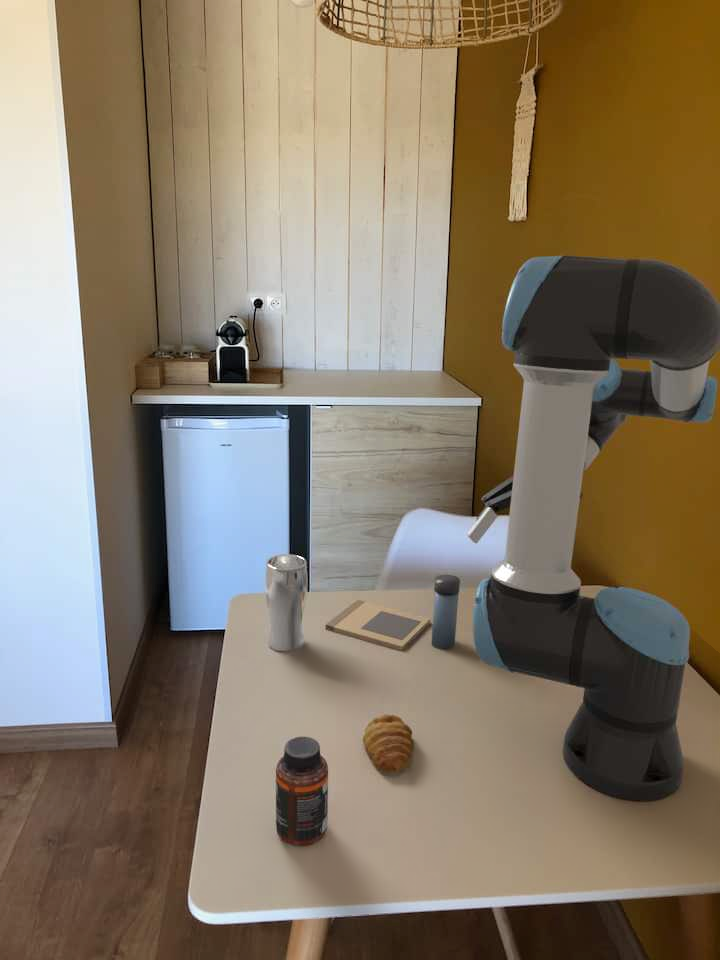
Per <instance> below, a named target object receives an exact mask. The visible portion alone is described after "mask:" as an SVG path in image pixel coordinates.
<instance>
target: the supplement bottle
mask: <svg viewBox="0 0 720 960" xmlns="http://www.w3.org/2000/svg"><path fill="white" fill-rule="evenodd" d="M283 748H284V749H283V750H284V754H283V756H282V757H281V758H280V759H279V760H278V762H277V764H276V766H275V767H276V768H275V828H276V835H278V838H280V840H281V841H283V842H284V843H286V844H287V845H291V846H293V847H308V846H311V845H314V844H316V843H319V841H320V840H322V839H323V838H324V836H325V834H326V833H327V829H328V818H329V817H328V812H329V811H328V809H329V808H328V807H329V806H328V805H329V803H328V801H329V798H328V796H329V766H328V763H327V760H326V759H325V758H324V756H322V755H321V745H320V743H319V741H318V740H316V739H315V738H313V737H310V736H296V737H293V738H291V739H289V740H288V741H286V743H285V745H284V747H283Z"/></svg>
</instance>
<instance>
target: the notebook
mask: <svg viewBox="0 0 720 960" xmlns="http://www.w3.org/2000/svg"><path fill="white" fill-rule="evenodd" d="M430 624H431V618H429V617H424V616H421V615H417V614H414V613H410V612H406V611H403V610H399V609H395V608H391V607H387V606H384V605H379V604H377V603H376V604H375V603H371V602H368V601H364V600H362V599H357V600H355V601H354V602H353V603H351V604H350V605H349V606H348V607H347V608H345V609H344V610H343V611H341V612H339V613H338V614H337V615H336V616H335V617H333V618H332V619H331V620H329V621H328V622H327V623H326V624H325V629H326V630H328V631H331V632H336V633H339V634H343V635H345V636H349V637H353V638H356V639H360V640H363V641H367V642H369V643H370V642H371V643H373V644H378V645H381V646H384V647H387V648H390V649H394V650H398V651H404V649H406V648H407V647H408V645H410V644H411V642H413V641H414V640H415V639H416V638H417V636H419V635H420V633H422V632H423V631H424V630H425V629H426V627H428V626H429V625H430Z"/></svg>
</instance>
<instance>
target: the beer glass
mask: <svg viewBox="0 0 720 960" xmlns="http://www.w3.org/2000/svg"><path fill="white" fill-rule="evenodd" d="M307 568H308V567H307V560H306V559H305V558H304V557H302V555H301V556H299V555H298V554H297V555H296V554H290V553H288V554H287V553H284V554H283V553H282V554H278V555H273V556H271V557H269V558H268V559H267V560H266V570H265V585H264V586H265V598H266V603H267V609H268V615H269V619H270V621H269V622H270V631H269V636H268V646H269V647H270V648H271V649H272V650H273V651H277V652H282V653H290V652H296V651H298V650H300V649H301V648H303V647H304V645H305V638H304V633H303V618H304V612H305V607H306V601H307V598H308V597H307V595H308V570H307Z"/></svg>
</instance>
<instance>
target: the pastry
mask: <svg viewBox="0 0 720 960" xmlns="http://www.w3.org/2000/svg"><path fill="white" fill-rule="evenodd" d="M412 735H413V730H412V728H411V727H410V726H409V725H408V724H406V723H405V722H404V721H403V720H402V718H401V717H400V716H398V715H393V714H383V715H381V716H379V717H374V718H373V719H371V720H370V721H369V722H368V724H367V725H366V727H365V729H364V734H363V737H362V743H363V746H364V750H365V752H366V755H367V756H368V758H369V761H371V763H372V765H373V766H374V768H375V769H376V771H378V772H379V773H380V774H382V775H384V776H391V775H395V776H396V775H401V774H404V773H405V772H406V771H407V770H408V768H409V767H410V764H411V761H412V760H413V755H414V750H415V747H416V746H415V742H414V739H413V738H412V737H413V736H412Z"/></svg>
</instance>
